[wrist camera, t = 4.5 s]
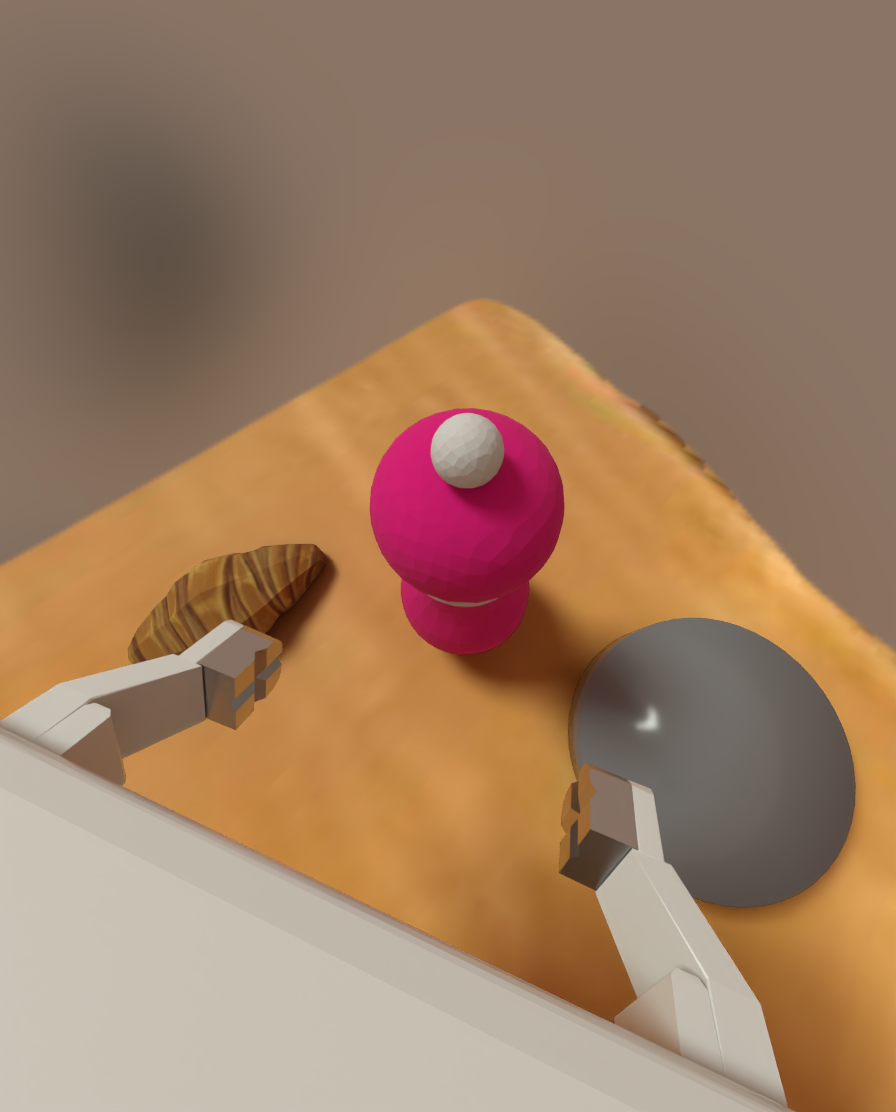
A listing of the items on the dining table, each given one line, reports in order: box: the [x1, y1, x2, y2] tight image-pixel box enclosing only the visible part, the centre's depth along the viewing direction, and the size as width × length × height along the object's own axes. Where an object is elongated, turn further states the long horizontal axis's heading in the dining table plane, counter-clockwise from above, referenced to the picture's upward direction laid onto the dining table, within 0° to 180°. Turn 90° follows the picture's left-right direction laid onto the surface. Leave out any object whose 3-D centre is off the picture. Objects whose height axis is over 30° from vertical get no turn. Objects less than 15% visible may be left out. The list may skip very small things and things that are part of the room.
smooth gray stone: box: [568, 618, 855, 908], centre depth 24 cm, size 14×14×3 cm
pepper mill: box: [370, 408, 564, 655], centre depth 19 cm, size 7×7×20 cm
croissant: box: [128, 544, 326, 664], centre depth 27 cm, size 14×7×5 cm, turn 122°
